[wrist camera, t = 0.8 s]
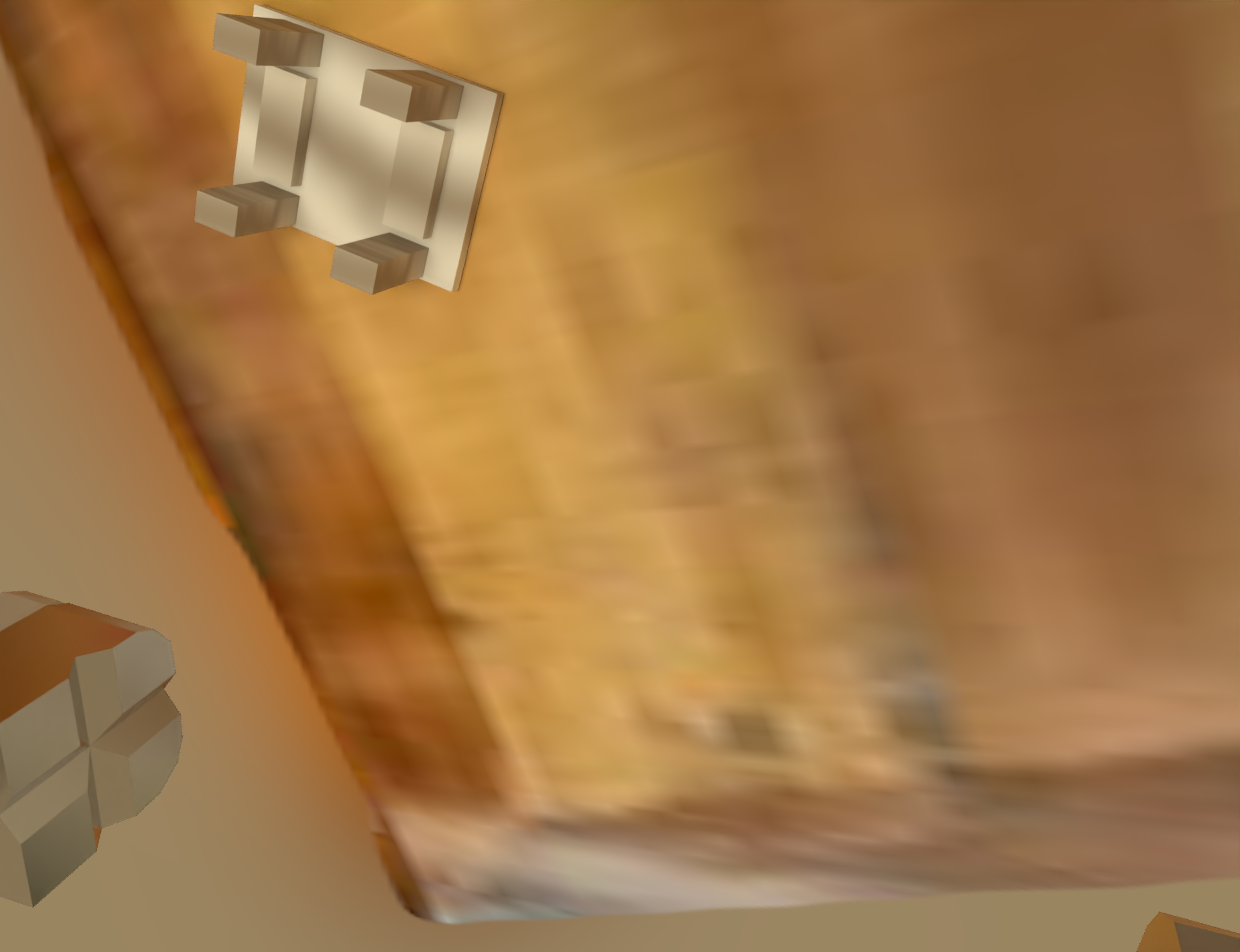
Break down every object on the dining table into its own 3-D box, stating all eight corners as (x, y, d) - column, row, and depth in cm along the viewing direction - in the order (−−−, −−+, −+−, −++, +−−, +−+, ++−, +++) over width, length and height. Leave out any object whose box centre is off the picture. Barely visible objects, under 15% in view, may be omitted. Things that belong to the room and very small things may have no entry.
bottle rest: (264, 5, 52) (184, -4, 46) (504, 93, 50) (448, 94, 44) (239, 200, 56) (164, 212, 51) (458, 289, 54) (403, 311, 49)
